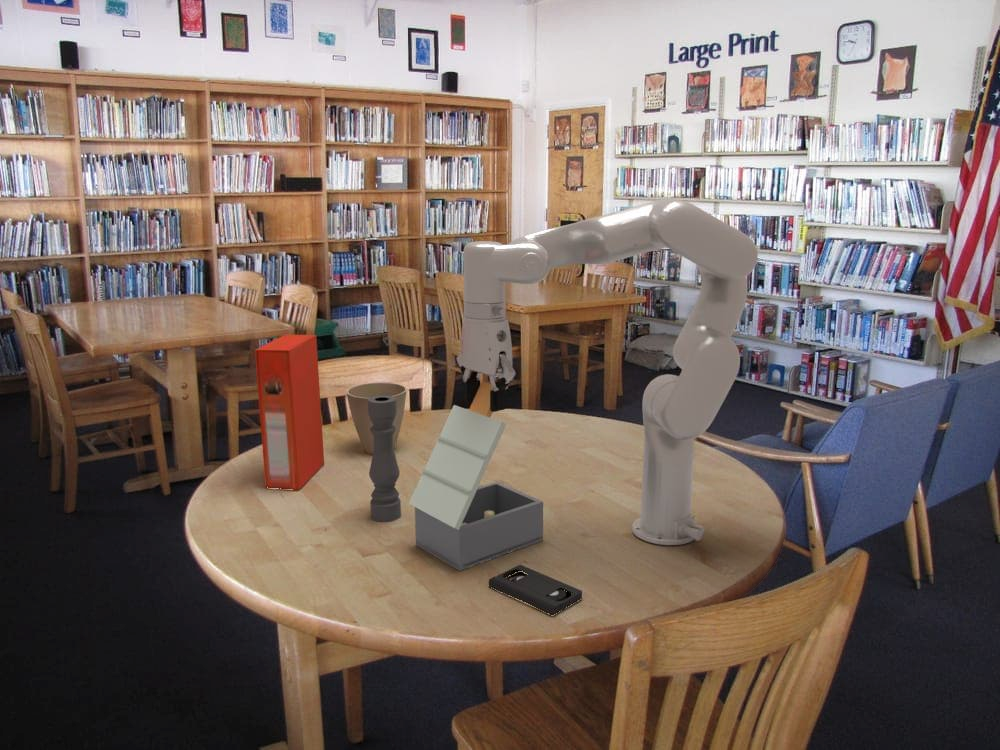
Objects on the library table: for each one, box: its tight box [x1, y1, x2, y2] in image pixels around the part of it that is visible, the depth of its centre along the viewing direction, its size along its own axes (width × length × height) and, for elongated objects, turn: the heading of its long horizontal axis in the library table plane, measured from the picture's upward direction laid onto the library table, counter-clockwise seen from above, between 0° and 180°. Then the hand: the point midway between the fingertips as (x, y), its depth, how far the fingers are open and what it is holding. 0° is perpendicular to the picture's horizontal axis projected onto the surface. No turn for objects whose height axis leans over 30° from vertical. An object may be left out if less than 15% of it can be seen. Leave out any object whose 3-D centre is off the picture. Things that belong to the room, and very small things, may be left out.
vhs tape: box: [488, 564, 583, 616], centre depth 144 cm, size 14×8×2 cm, turn 46°
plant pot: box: [346, 382, 407, 455], centre depth 214 cm, size 15×15×16 cm
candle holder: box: [368, 396, 402, 523], centre depth 172 cm, size 6×6×25 cm
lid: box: [408, 381, 507, 530], centre depth 156 cm, size 14×26×2 cm
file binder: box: [254, 334, 325, 491], centre depth 194 cm, size 8×17×32 cm, turn 173°
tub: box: [414, 481, 544, 572], centre depth 162 cm, size 14×20×8 cm
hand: (485, 405), depth 157 cm, fingers open, 6 cm apart
